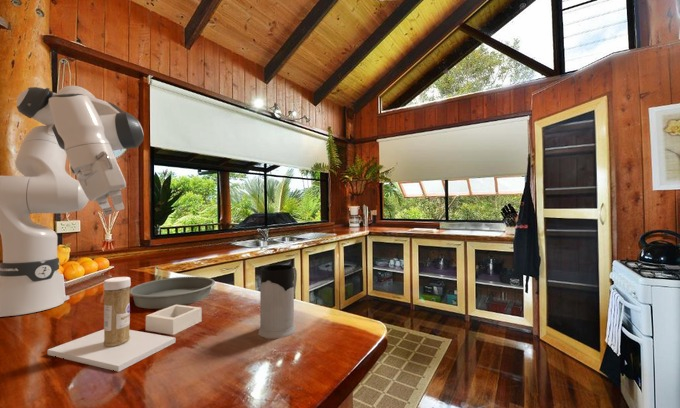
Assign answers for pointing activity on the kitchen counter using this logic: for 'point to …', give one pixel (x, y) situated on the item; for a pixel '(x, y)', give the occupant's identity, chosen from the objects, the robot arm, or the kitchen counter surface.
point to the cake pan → (171, 292)
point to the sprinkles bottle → (116, 311)
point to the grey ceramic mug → (277, 301)
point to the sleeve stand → (173, 319)
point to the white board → (112, 349)
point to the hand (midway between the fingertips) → (114, 212)
